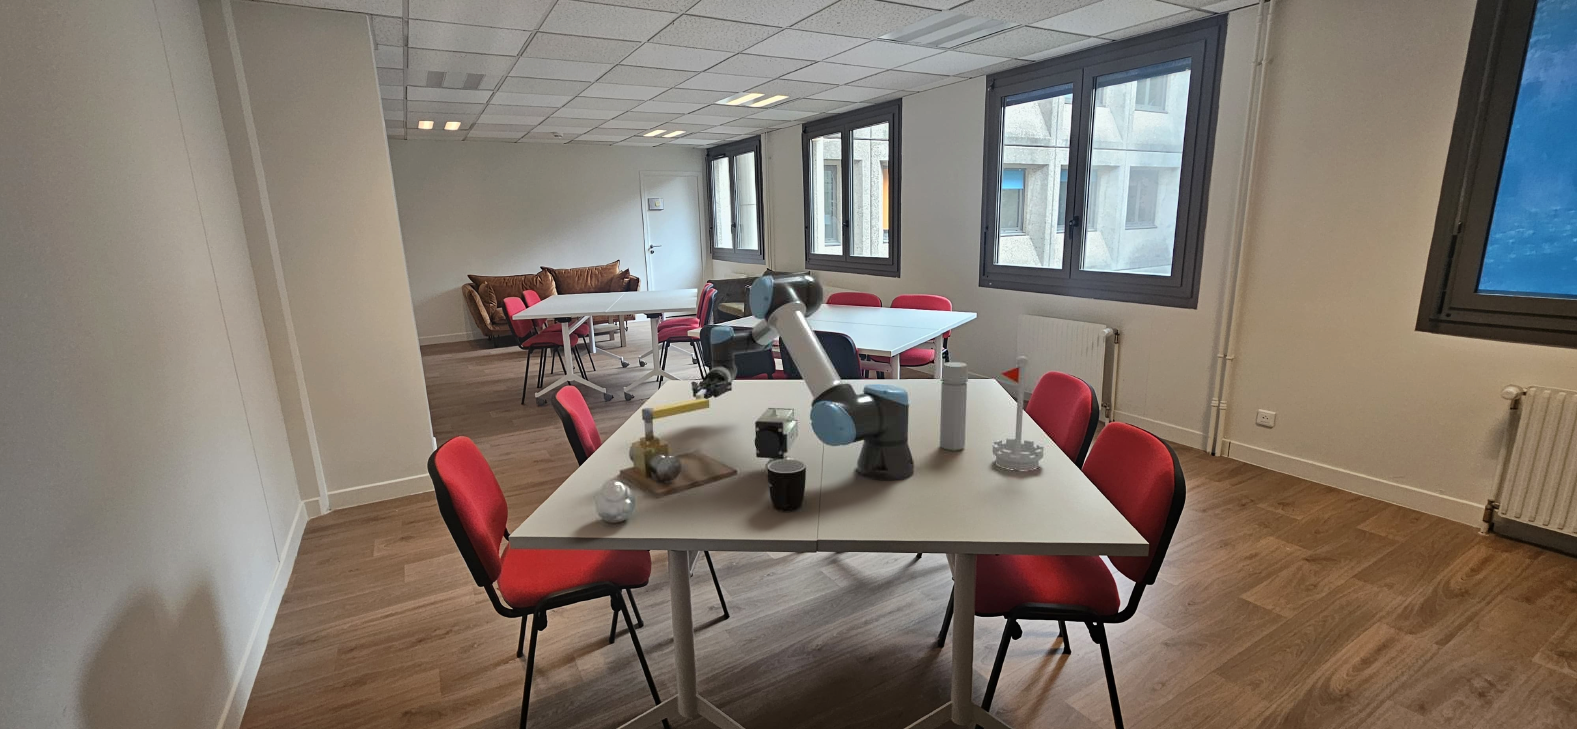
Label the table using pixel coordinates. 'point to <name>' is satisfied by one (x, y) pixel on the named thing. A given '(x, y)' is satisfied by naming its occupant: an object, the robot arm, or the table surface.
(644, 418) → the valve lever
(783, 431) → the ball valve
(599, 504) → the round lidded jar
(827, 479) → the table surface
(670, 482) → the walnut board
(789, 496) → the mug
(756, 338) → the robot arm
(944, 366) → the water bottle
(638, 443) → the valve body
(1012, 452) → the flag stand
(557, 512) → the table surface
